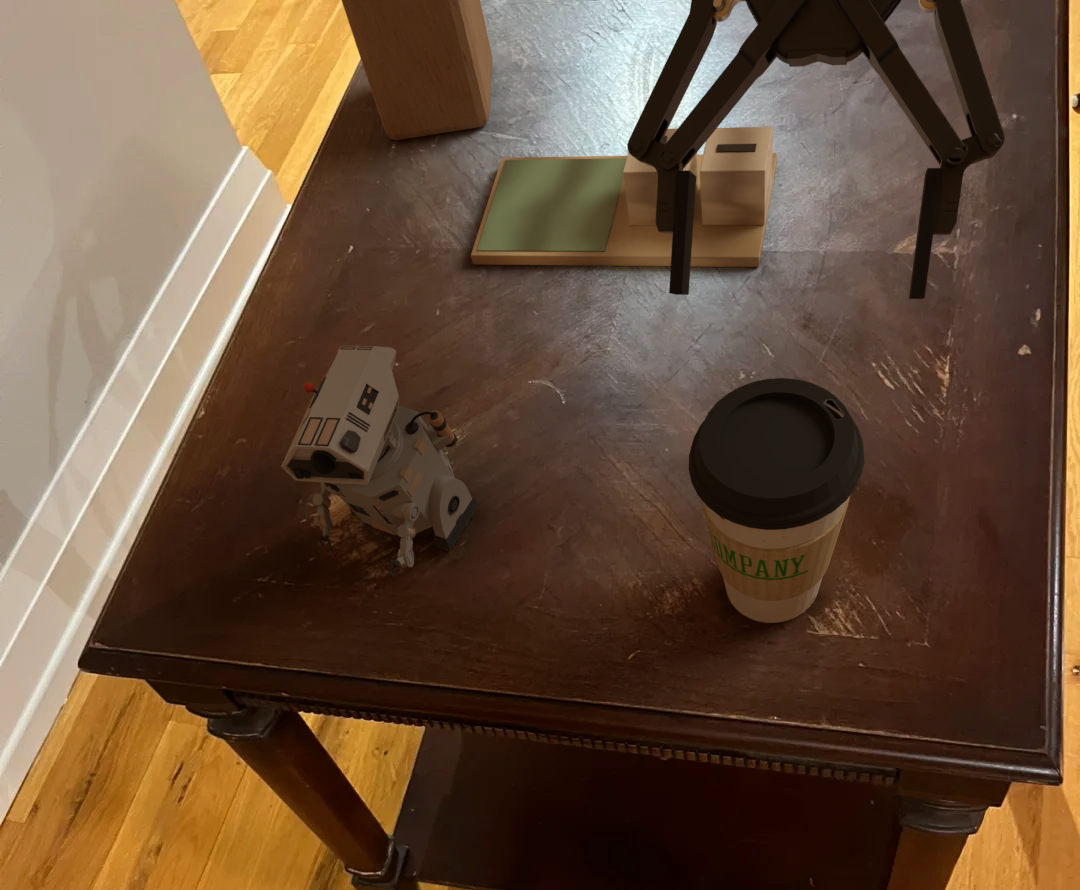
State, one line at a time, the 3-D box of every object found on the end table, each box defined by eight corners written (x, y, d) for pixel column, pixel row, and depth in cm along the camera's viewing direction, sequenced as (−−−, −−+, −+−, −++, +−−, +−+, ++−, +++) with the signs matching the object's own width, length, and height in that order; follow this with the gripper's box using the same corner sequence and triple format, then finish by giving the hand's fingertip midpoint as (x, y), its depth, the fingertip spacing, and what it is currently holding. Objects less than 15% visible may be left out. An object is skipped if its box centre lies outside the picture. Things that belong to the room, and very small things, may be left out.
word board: (777, 163, 91) (778, 94, 86) (759, 267, 87) (759, 201, 81) (503, 167, 97) (489, 103, 92) (472, 264, 92) (455, 203, 87)
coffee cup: (674, 561, 76) (656, 414, 63) (800, 502, 76) (810, 343, 63) (741, 670, 71) (738, 537, 58) (875, 607, 72) (903, 459, 58)
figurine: (313, 576, 81) (226, 444, 68) (392, 460, 84) (324, 312, 71) (414, 617, 78) (344, 486, 64) (492, 494, 81) (440, 346, 68)
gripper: (1085, -135, 57) (1015, 301, 64) (616, -101, 63) (600, 294, 70) (1115, -198, 50) (1032, 298, 57) (585, -153, 56) (572, 290, 63)
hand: (794, 297), depth 64 cm, fingers open, 13 cm apart
